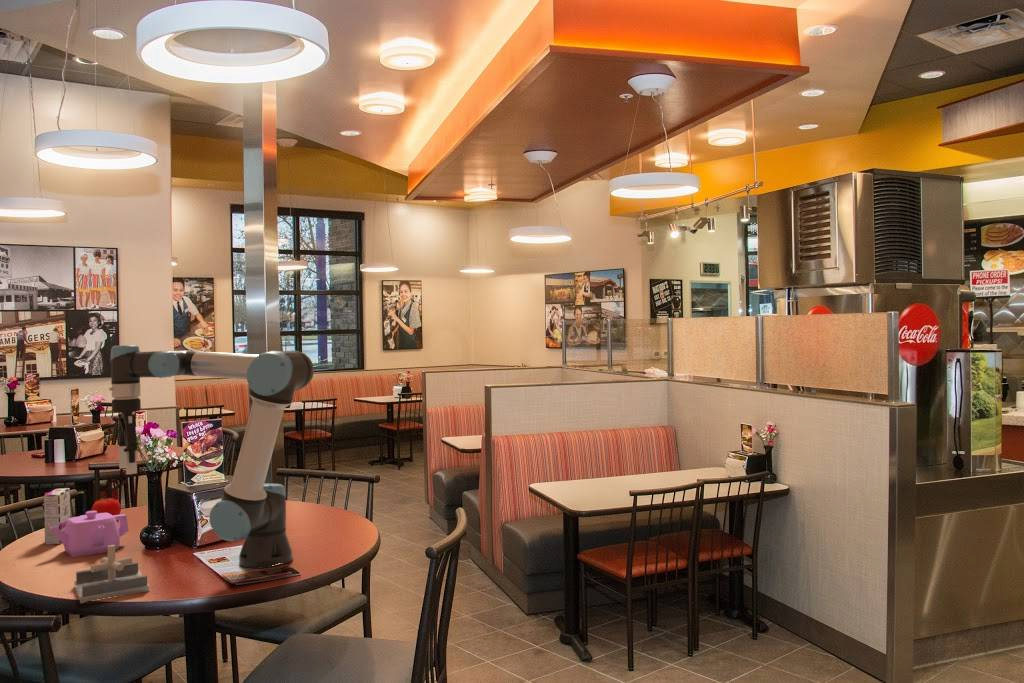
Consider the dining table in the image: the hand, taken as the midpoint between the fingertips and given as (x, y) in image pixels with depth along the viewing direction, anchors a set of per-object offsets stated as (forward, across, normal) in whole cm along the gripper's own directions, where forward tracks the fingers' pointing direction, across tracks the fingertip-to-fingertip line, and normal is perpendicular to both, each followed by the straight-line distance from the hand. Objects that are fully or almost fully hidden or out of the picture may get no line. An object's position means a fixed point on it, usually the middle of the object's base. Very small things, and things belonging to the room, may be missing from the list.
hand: (128, 471), depth 225 cm
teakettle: (+28, -28, -8) cm, 40 cm away
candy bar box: (+28, -48, -15) cm, 57 cm away
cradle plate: (+28, +18, -7) cm, 34 cm away
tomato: (+28, -69, +1) cm, 75 cm away
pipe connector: (+27, +18, -7) cm, 33 cm away
